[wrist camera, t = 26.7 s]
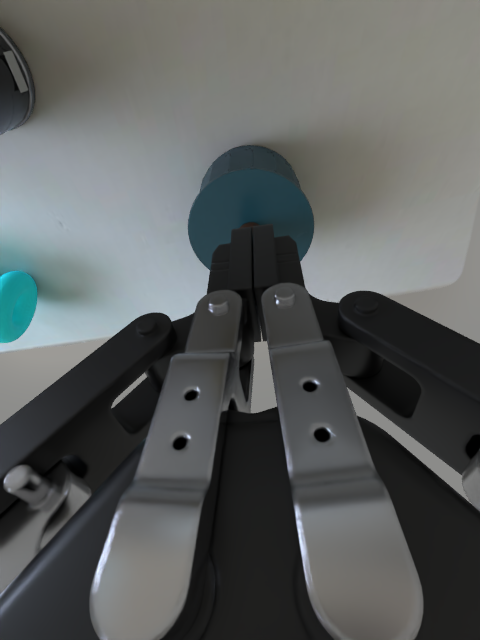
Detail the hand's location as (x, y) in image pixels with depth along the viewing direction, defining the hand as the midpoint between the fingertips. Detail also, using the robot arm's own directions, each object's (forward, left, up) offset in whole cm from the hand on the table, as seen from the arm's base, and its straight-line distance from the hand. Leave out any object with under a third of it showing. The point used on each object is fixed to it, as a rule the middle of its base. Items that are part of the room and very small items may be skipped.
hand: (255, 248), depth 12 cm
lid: (-2, -10, -19) cm, 22 cm away
